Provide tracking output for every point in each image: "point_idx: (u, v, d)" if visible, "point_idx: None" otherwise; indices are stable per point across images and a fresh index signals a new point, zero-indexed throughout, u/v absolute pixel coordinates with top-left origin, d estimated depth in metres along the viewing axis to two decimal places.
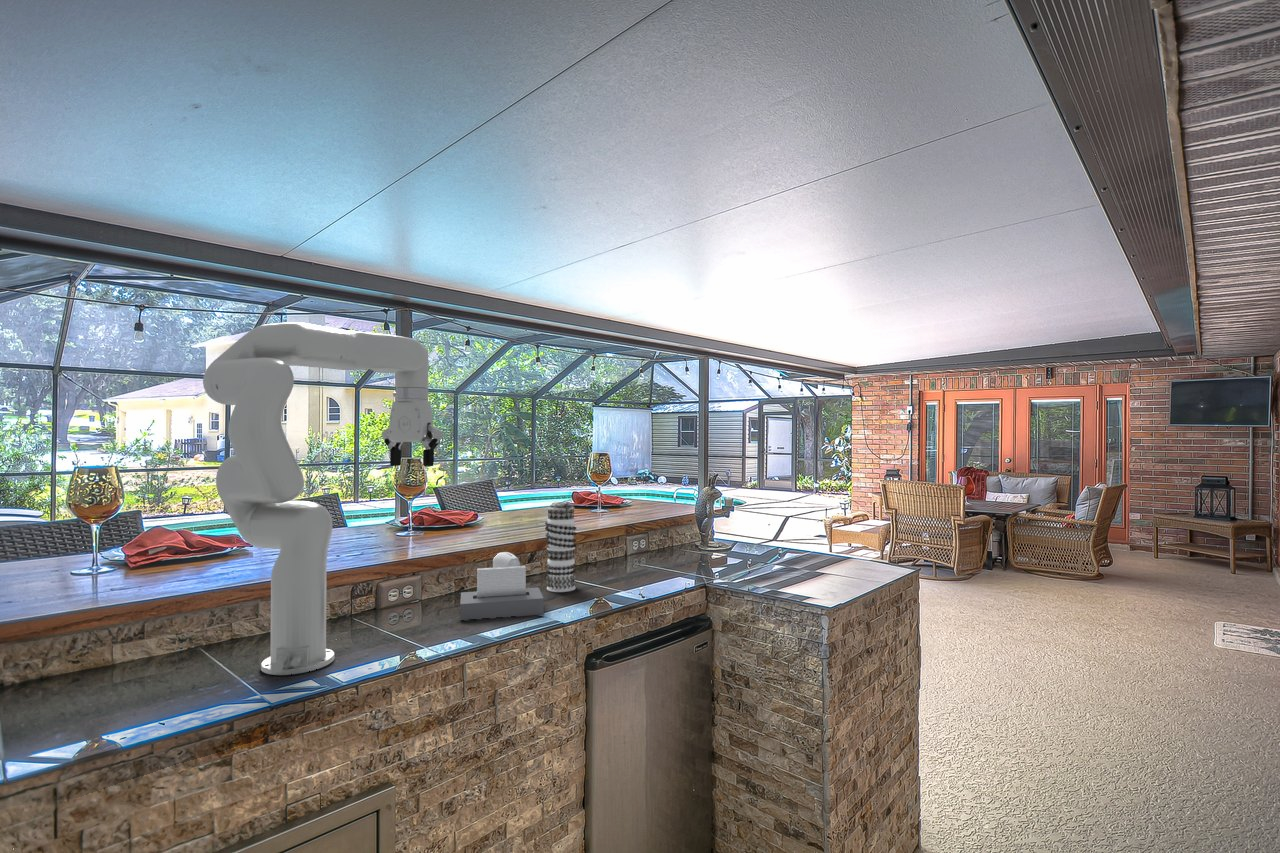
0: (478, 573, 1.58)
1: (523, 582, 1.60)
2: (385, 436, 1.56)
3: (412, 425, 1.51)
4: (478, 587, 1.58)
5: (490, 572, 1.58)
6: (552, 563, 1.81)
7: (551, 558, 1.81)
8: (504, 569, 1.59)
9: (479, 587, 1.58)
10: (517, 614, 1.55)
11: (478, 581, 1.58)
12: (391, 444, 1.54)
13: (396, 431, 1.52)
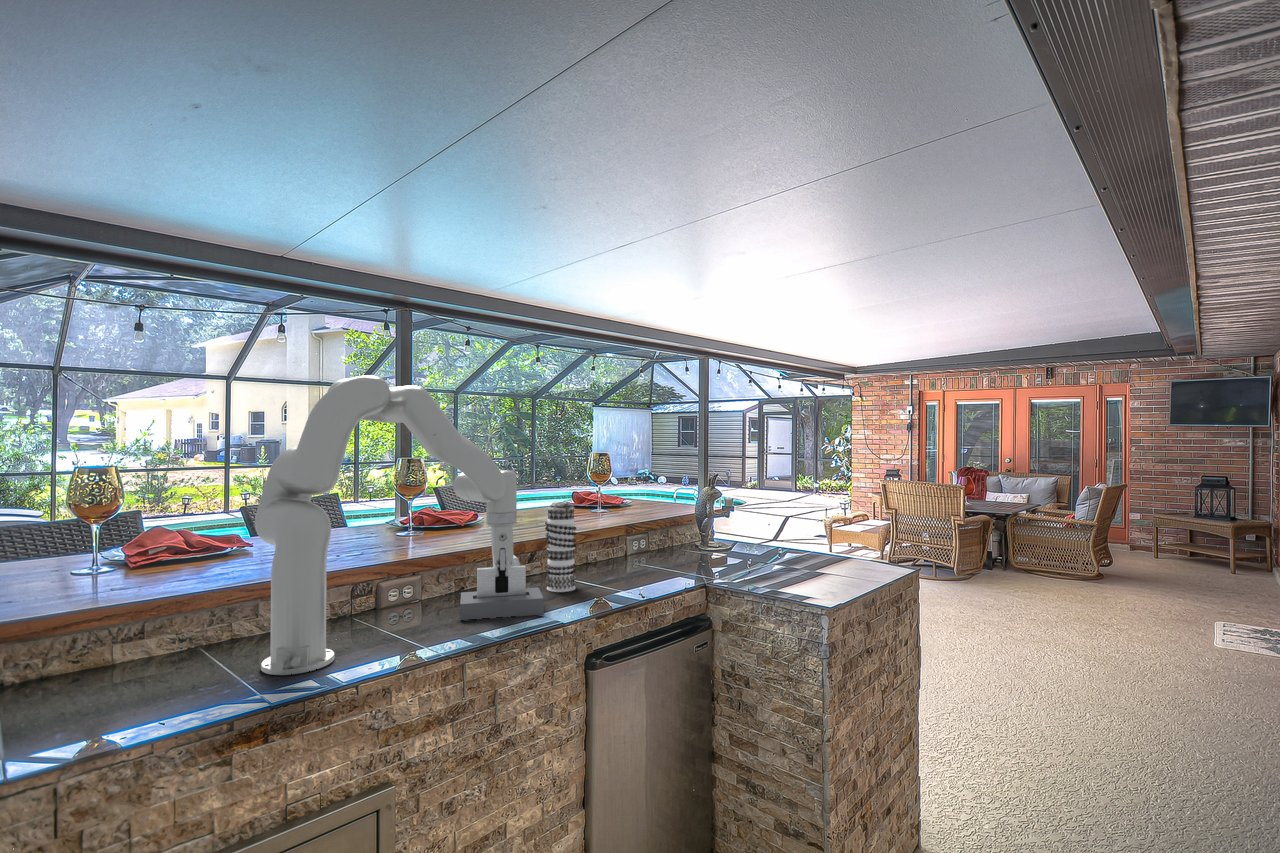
0: (478, 573, 1.58)
1: (523, 582, 1.60)
2: (504, 568, 1.56)
3: None
4: (478, 587, 1.58)
5: (490, 572, 1.58)
6: (552, 563, 1.81)
7: (551, 558, 1.81)
8: None
9: (479, 586, 1.58)
10: (517, 614, 1.55)
11: (478, 581, 1.58)
12: None
13: None
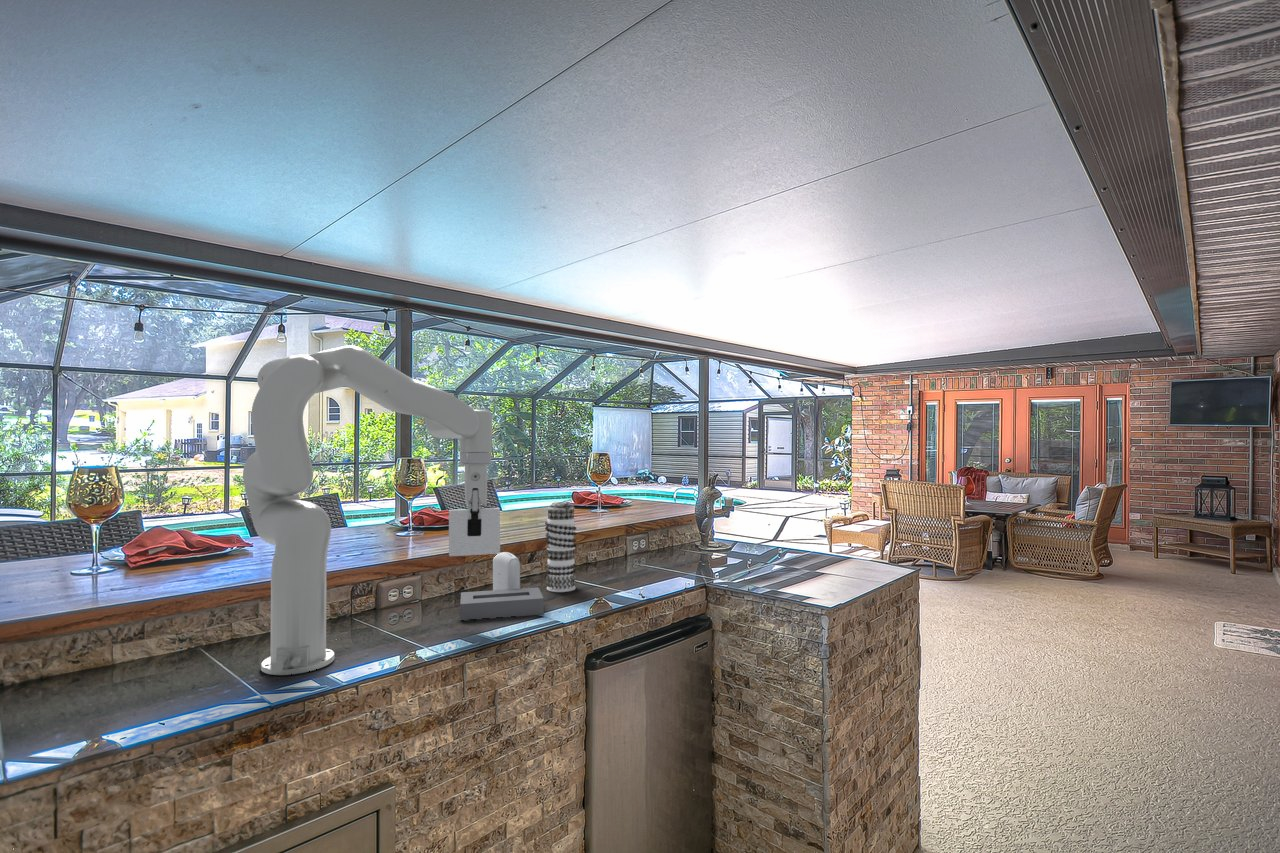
0: (450, 514, 1.52)
1: (497, 524, 1.54)
2: None
3: None
4: (450, 528, 1.51)
5: (462, 513, 1.52)
6: (552, 563, 1.81)
7: (551, 558, 1.81)
8: None
9: (451, 528, 1.51)
10: (517, 614, 1.55)
11: (450, 522, 1.51)
12: None
13: None
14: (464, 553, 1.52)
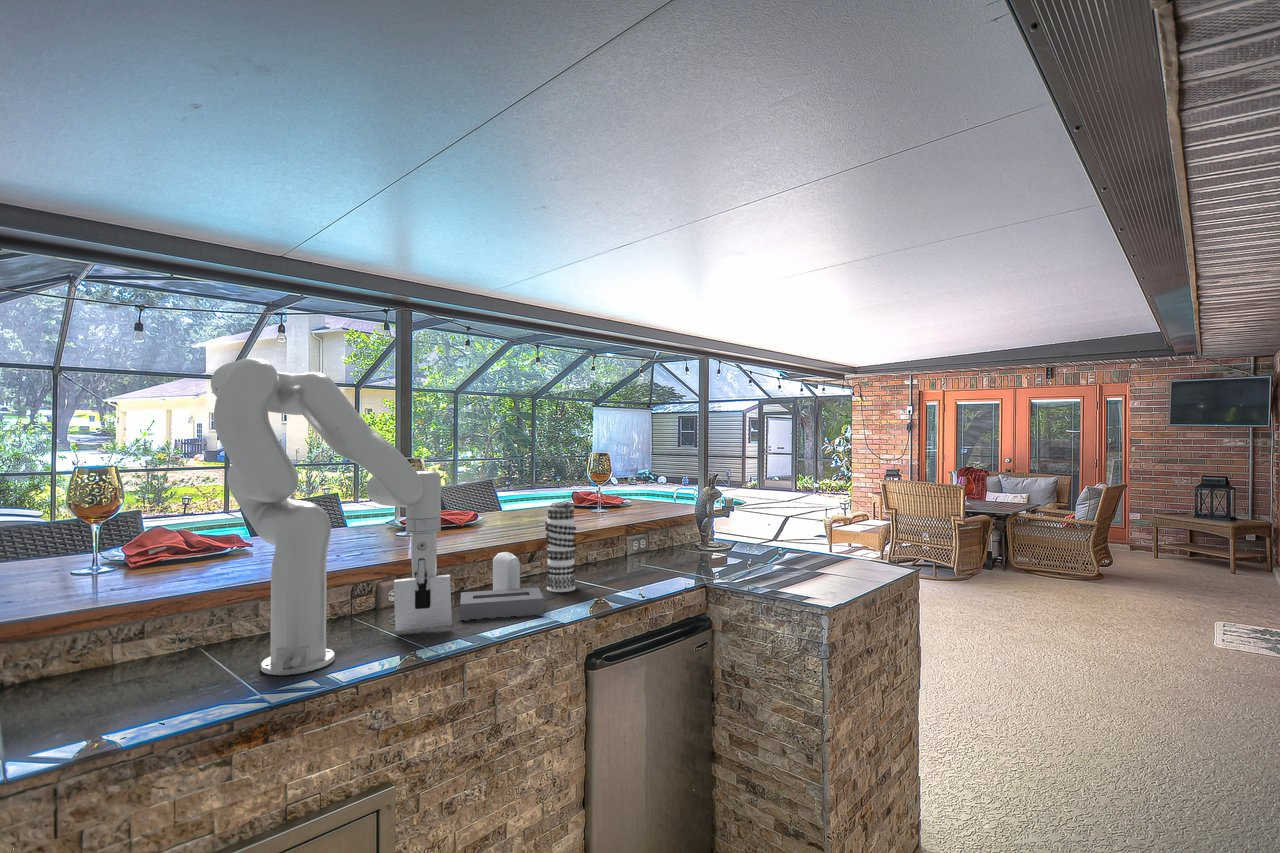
0: (395, 585, 1.40)
1: (447, 593, 1.43)
2: (424, 581, 1.38)
3: None
4: (395, 601, 1.40)
5: (409, 583, 1.41)
6: (552, 563, 1.81)
7: (551, 558, 1.81)
8: None
9: (396, 600, 1.40)
10: (517, 614, 1.55)
11: (395, 594, 1.40)
12: None
13: (435, 565, 1.41)
14: (412, 627, 1.41)
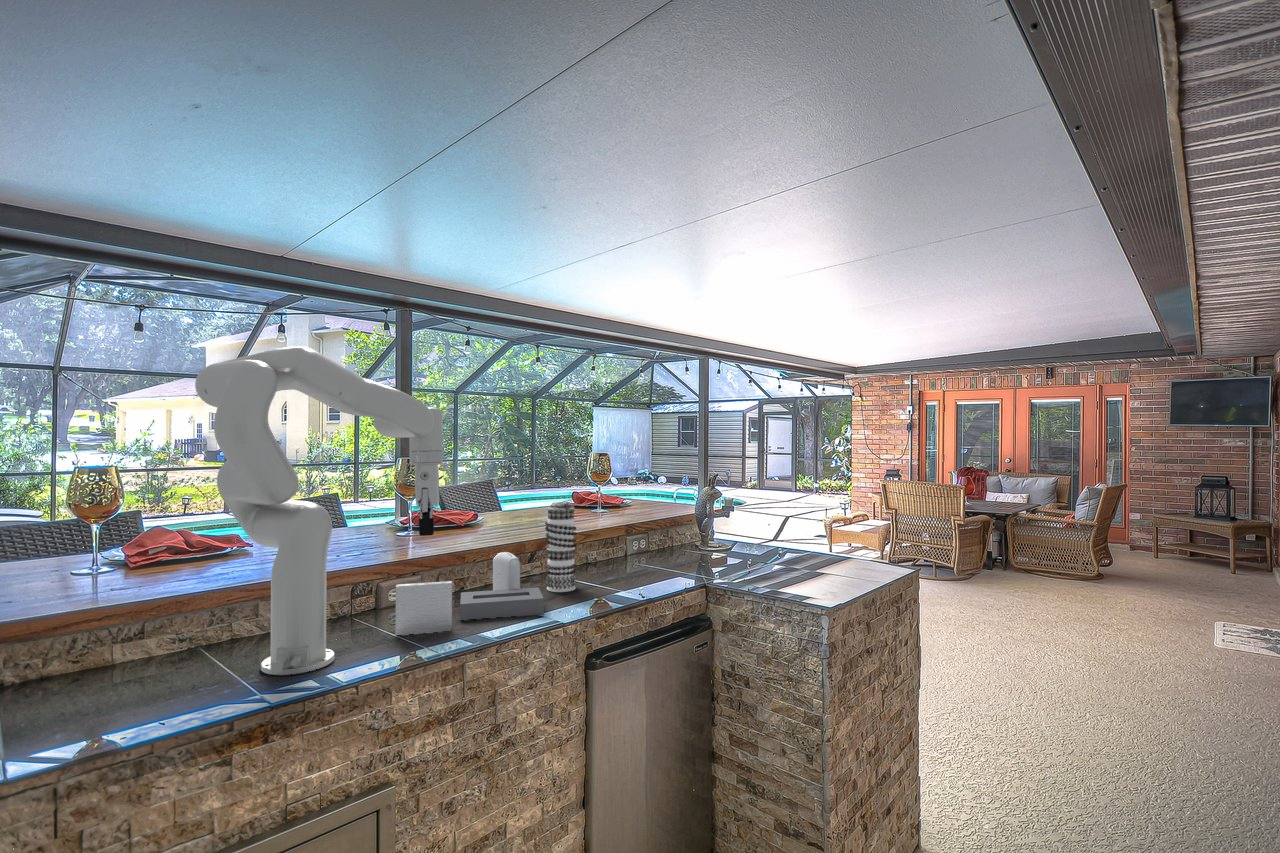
0: (397, 590, 1.40)
1: (449, 599, 1.43)
2: (428, 509, 1.47)
3: None
4: (397, 605, 1.40)
5: (411, 588, 1.41)
6: (552, 563, 1.81)
7: (551, 558, 1.81)
8: (427, 585, 1.42)
9: (398, 605, 1.40)
10: (517, 614, 1.55)
11: (397, 599, 1.40)
12: None
13: None
14: (412, 632, 1.41)
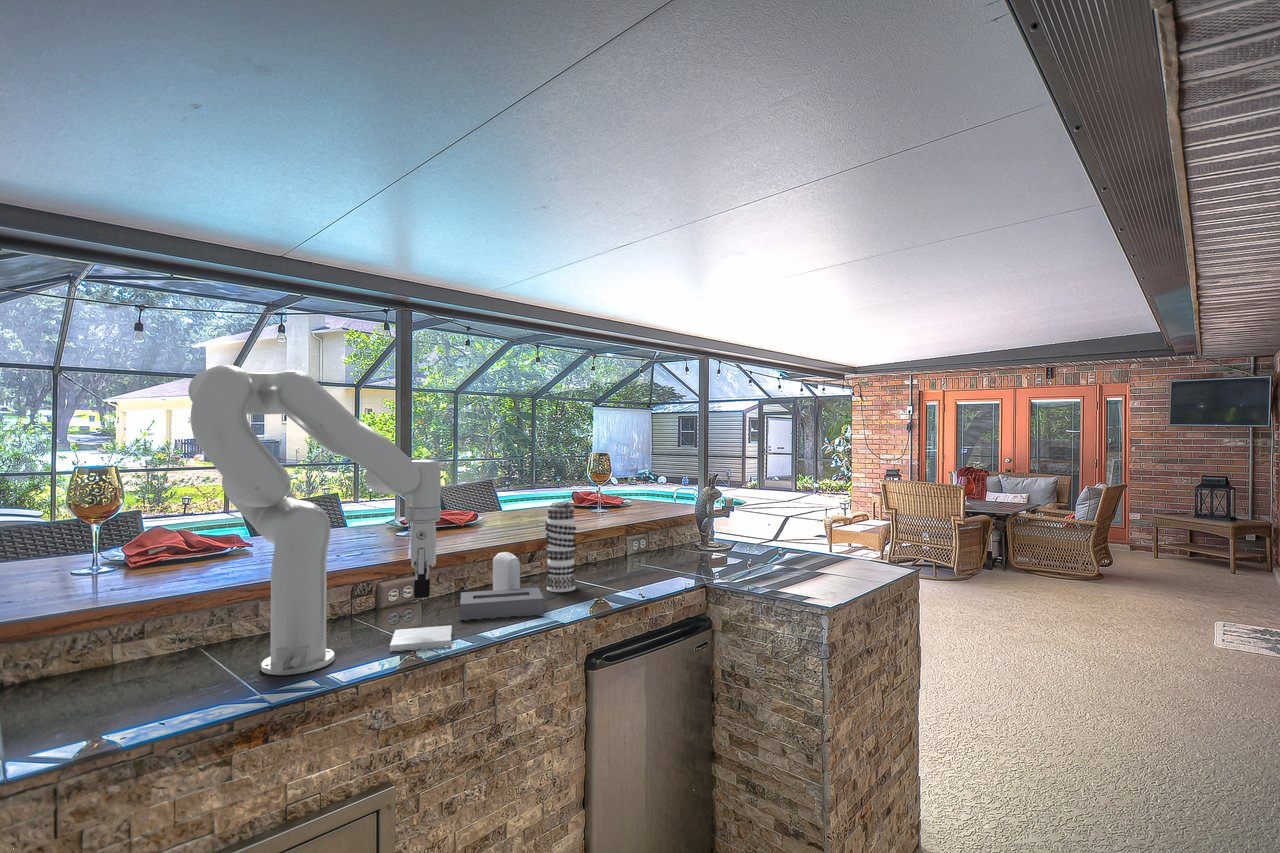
0: None
1: None
2: (424, 571, 1.37)
3: None
4: None
5: None
6: (552, 563, 1.81)
7: (551, 558, 1.81)
8: None
9: None
10: (517, 614, 1.55)
11: None
12: None
13: None
14: None
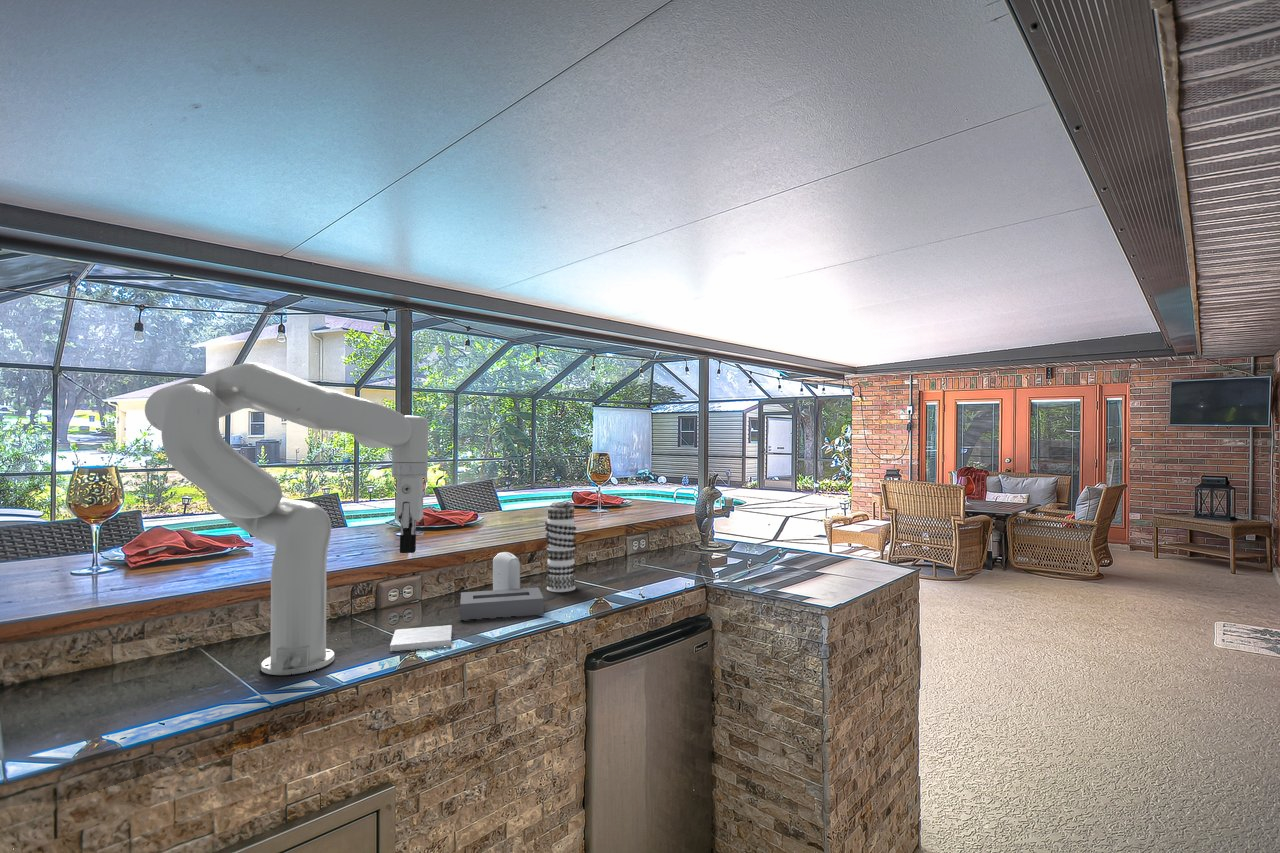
0: None
1: None
2: (409, 525, 1.38)
3: None
4: None
5: None
6: (552, 563, 1.81)
7: (551, 558, 1.81)
8: None
9: None
10: (517, 614, 1.55)
11: None
12: None
13: (420, 510, 1.40)
14: None
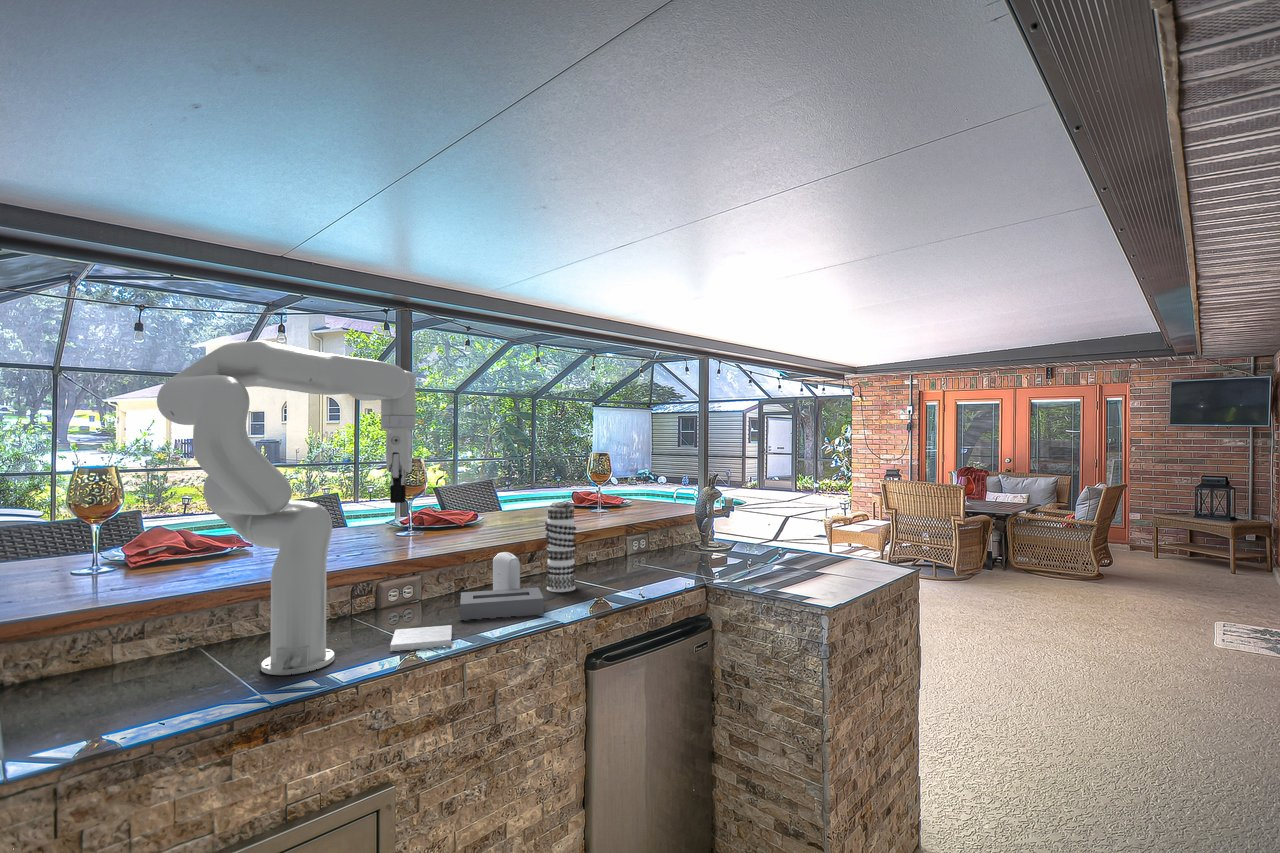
0: None
1: None
2: (399, 475, 1.43)
3: (411, 454, 1.50)
4: None
5: None
6: (552, 563, 1.81)
7: (551, 558, 1.81)
8: None
9: None
10: (517, 614, 1.55)
11: None
12: None
13: (409, 461, 1.45)
14: None
